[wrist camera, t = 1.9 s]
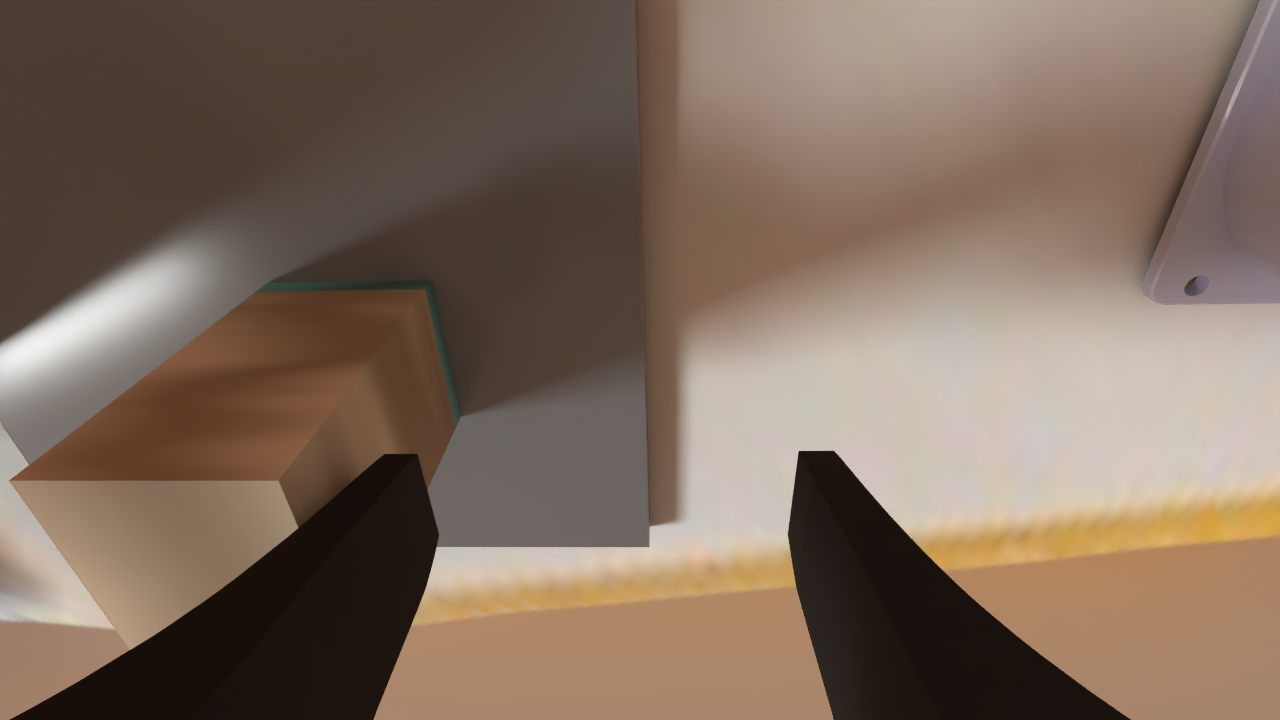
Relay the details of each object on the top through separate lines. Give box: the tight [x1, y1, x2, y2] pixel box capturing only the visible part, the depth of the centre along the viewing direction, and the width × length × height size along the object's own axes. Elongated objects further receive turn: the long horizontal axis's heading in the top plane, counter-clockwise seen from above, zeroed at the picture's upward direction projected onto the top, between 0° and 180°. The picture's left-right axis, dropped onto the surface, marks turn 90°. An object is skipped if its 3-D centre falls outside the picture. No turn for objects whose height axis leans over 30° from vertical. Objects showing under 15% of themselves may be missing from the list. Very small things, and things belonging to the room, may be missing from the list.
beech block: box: [9, 281, 461, 650], centre depth 13 cm, size 4×4×7 cm
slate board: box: [0, 0, 650, 547], centre depth 16 cm, size 18×16×1 cm
